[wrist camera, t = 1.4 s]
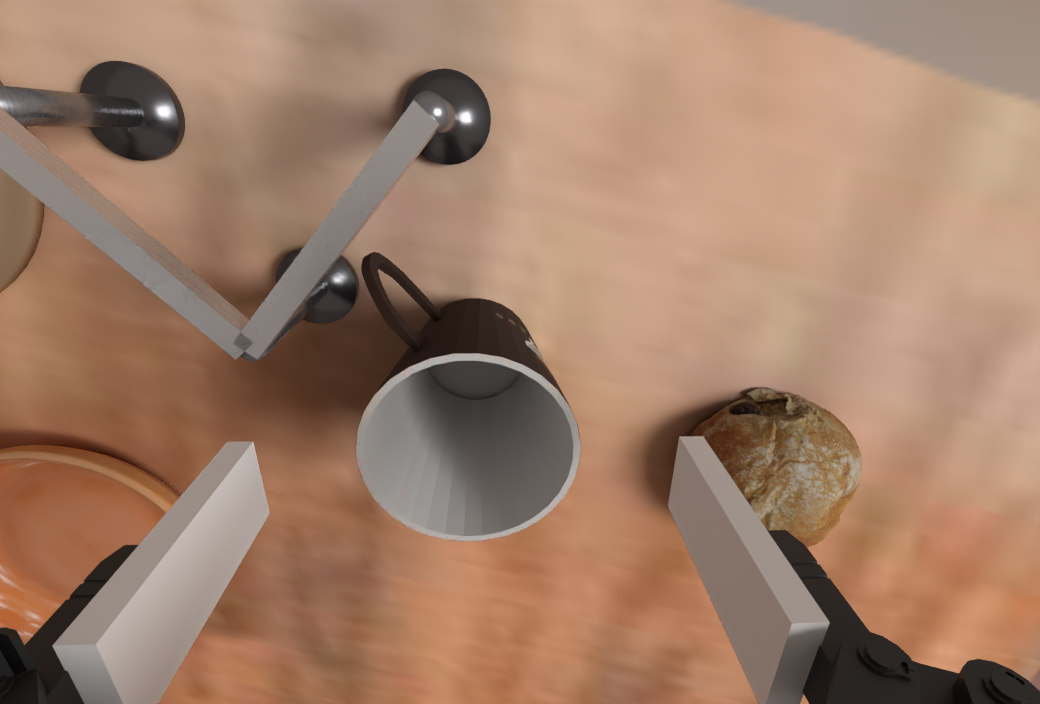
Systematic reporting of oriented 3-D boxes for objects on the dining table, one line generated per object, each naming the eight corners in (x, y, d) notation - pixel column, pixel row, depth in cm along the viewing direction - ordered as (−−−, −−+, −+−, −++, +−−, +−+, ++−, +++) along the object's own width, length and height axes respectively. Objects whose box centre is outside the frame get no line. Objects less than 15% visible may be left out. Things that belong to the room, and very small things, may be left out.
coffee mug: (552, 413, 31) (579, 533, 21) (408, 422, 30) (374, 548, 21) (549, 216, 26) (583, 262, 17) (380, 224, 26) (320, 276, 17)
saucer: (-90, 530, 32) (-145, 568, 29) (49, 374, 28) (2, 400, 25) (142, 652, 37) (115, 694, 34) (284, 534, 33) (266, 570, 31)
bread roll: (789, 361, 34) (849, 364, 26) (855, 501, 34) (937, 548, 26) (652, 419, 36) (670, 439, 28) (714, 555, 35) (751, 616, 27)
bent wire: (152, 320, 27) (3, 403, 19) (77, 61, 22) (-166, 20, 14) (491, 318, 28) (493, 396, 20) (490, 71, 23) (491, 38, 15)
